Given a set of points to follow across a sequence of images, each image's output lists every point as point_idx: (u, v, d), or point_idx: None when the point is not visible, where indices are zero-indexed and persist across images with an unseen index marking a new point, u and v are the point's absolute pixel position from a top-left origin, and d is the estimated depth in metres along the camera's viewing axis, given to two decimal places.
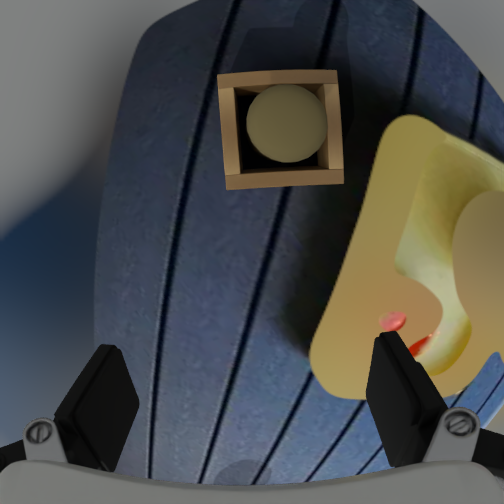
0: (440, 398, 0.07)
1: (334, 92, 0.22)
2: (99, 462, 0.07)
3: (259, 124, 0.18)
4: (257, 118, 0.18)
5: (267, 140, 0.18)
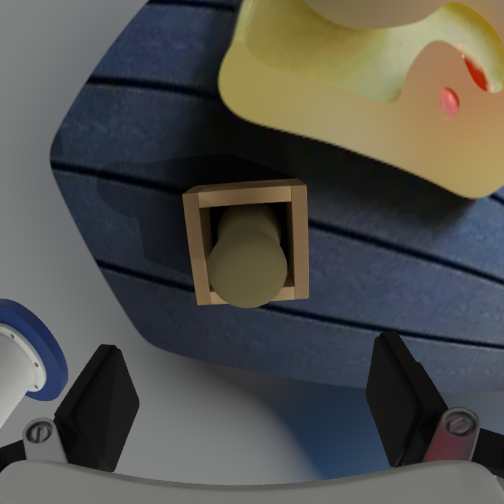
0: (440, 398, 0.07)
1: (207, 196, 0.24)
2: (99, 462, 0.07)
3: (250, 303, 0.20)
4: (244, 305, 0.20)
5: (266, 296, 0.20)
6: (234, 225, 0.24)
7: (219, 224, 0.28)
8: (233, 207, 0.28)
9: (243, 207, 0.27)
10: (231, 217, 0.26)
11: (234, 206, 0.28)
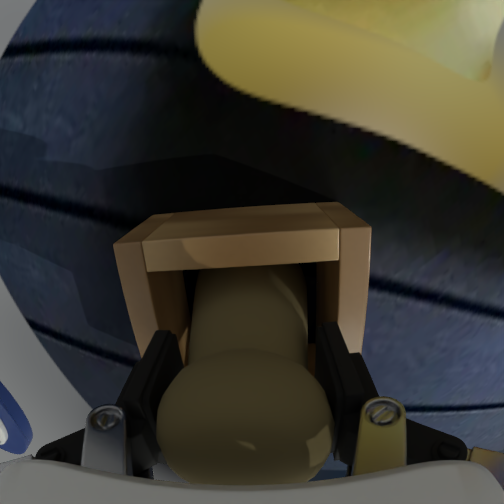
0: (373, 388, 0.08)
1: (161, 250, 0.11)
2: None
3: None
4: None
5: None
6: (219, 312, 0.11)
7: (196, 286, 0.15)
8: None
9: None
10: (215, 283, 0.13)
11: None
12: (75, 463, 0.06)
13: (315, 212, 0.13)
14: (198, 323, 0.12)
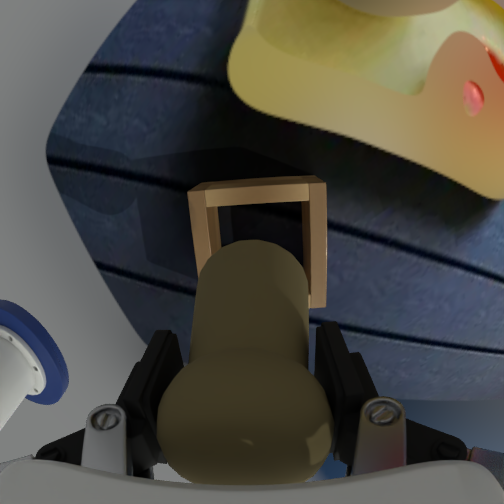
0: (373, 388, 0.08)
1: (215, 194, 0.21)
2: (160, 447, 0.08)
3: None
4: None
5: None
6: (220, 311, 0.11)
7: (198, 286, 0.15)
8: (223, 255, 0.15)
9: (241, 260, 0.14)
10: (216, 283, 0.13)
11: (225, 253, 0.15)
12: (75, 463, 0.06)
13: (298, 179, 0.23)
14: (199, 322, 0.12)
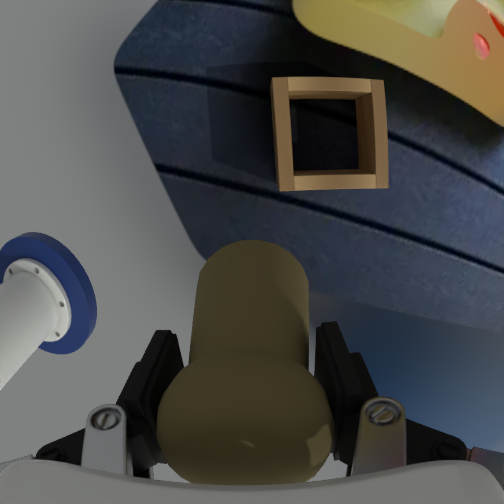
0: (373, 388, 0.08)
1: (296, 80, 0.22)
2: None
3: None
4: None
5: None
6: (220, 312, 0.11)
7: (198, 286, 0.15)
8: (223, 255, 0.15)
9: (241, 260, 0.14)
10: (216, 283, 0.13)
11: (225, 253, 0.15)
12: (75, 463, 0.06)
13: None
14: (199, 323, 0.12)
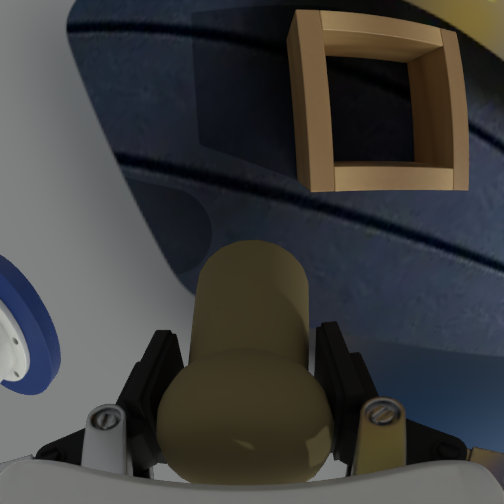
0: (373, 388, 0.08)
1: (335, 16, 0.12)
2: None
3: None
4: None
5: None
6: (220, 312, 0.11)
7: (198, 286, 0.15)
8: (223, 255, 0.15)
9: (241, 260, 0.14)
10: (216, 283, 0.13)
11: (225, 253, 0.15)
12: (75, 463, 0.06)
13: None
14: (199, 323, 0.12)
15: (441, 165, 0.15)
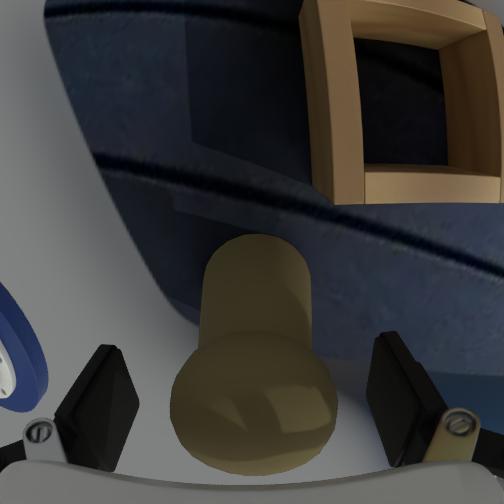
0: (440, 398, 0.07)
1: None
2: (99, 462, 0.07)
3: (260, 475, 0.08)
4: (248, 475, 0.08)
5: (292, 467, 0.08)
6: (229, 299, 0.12)
7: (205, 278, 0.16)
8: (229, 248, 0.16)
9: (247, 252, 0.15)
10: (224, 274, 0.14)
11: (231, 246, 0.16)
12: None
13: None
14: (208, 310, 0.12)
15: (484, 172, 0.12)
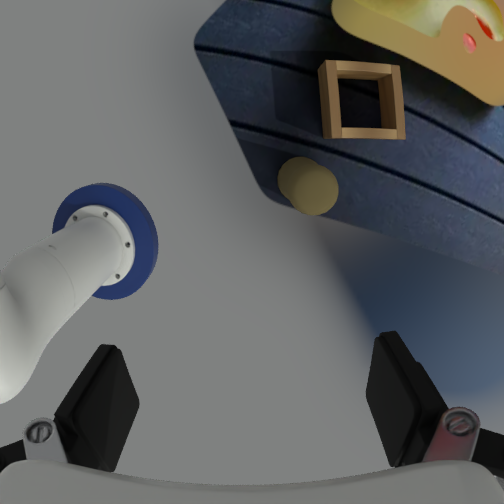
0: (440, 398, 0.07)
1: (342, 63, 0.31)
2: (99, 462, 0.07)
3: (317, 209, 0.30)
4: (313, 210, 0.31)
5: (327, 205, 0.30)
6: (299, 166, 0.34)
7: (281, 171, 0.38)
8: (291, 160, 0.38)
9: (299, 159, 0.37)
10: (293, 164, 0.36)
11: (291, 160, 0.38)
12: None
13: None
14: (290, 172, 0.35)
15: (392, 129, 0.34)
